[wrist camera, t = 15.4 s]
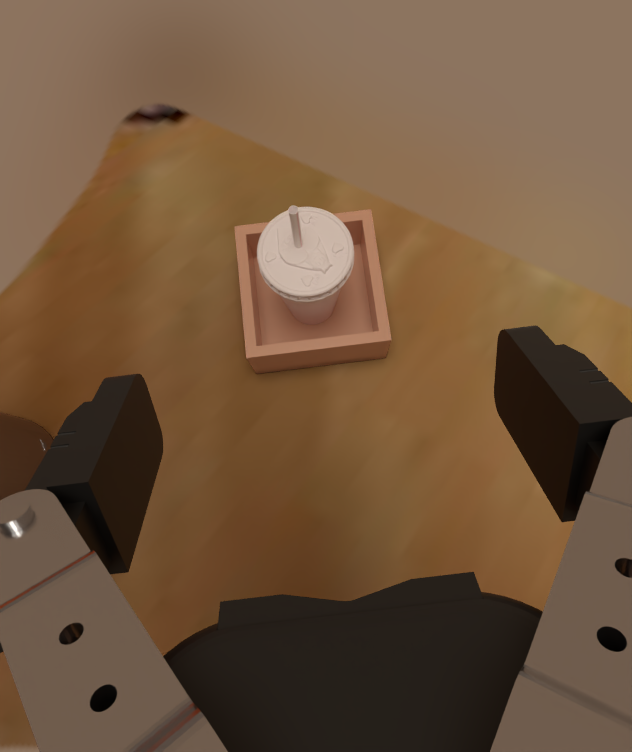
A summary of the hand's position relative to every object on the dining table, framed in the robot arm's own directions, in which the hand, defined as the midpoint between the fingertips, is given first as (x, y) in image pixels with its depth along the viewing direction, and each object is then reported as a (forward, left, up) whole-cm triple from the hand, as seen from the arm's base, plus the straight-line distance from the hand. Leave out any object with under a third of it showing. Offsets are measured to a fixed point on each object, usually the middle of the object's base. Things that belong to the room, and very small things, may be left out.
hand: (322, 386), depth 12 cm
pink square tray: (0, +14, -31) cm, 34 cm away
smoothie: (0, +13, -30) cm, 33 cm away
